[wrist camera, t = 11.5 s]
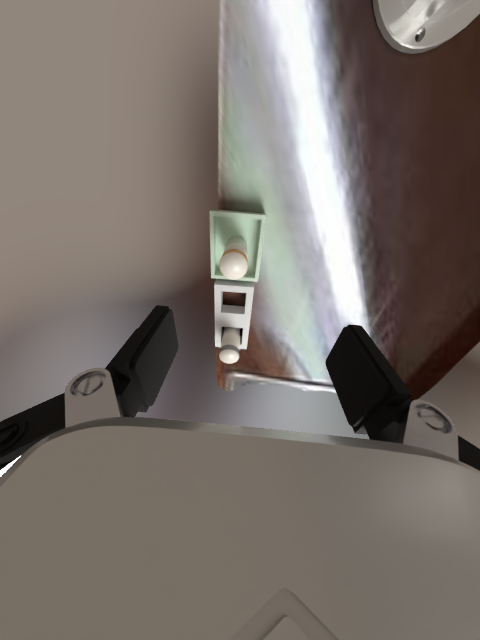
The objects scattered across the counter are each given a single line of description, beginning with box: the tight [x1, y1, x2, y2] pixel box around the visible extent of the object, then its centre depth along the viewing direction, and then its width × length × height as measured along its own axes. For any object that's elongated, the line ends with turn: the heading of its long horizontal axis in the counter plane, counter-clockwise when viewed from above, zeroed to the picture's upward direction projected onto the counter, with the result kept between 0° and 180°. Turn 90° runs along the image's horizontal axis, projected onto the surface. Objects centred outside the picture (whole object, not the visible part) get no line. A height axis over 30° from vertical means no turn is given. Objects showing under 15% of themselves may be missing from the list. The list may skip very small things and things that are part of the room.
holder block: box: [214, 279, 254, 349], centre depth 38 cm, size 15×7×3 cm, turn 176°
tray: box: [210, 209, 267, 282], centre depth 30 cm, size 10×8×2 cm
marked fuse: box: [219, 236, 248, 280], centre depth 27 cm, size 4×4×9 cm
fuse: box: [219, 327, 241, 363], centre depth 38 cm, size 4×4×9 cm
